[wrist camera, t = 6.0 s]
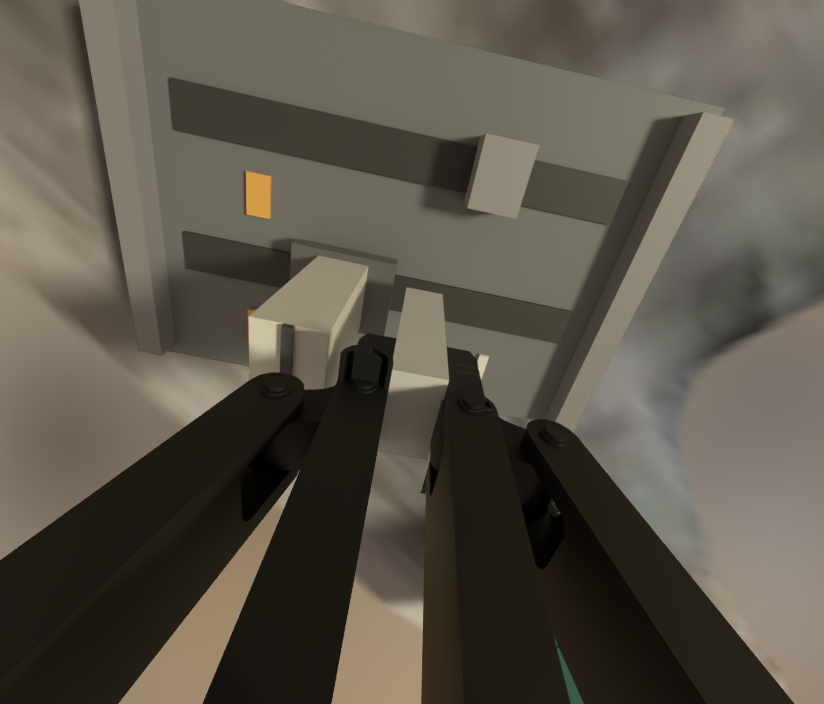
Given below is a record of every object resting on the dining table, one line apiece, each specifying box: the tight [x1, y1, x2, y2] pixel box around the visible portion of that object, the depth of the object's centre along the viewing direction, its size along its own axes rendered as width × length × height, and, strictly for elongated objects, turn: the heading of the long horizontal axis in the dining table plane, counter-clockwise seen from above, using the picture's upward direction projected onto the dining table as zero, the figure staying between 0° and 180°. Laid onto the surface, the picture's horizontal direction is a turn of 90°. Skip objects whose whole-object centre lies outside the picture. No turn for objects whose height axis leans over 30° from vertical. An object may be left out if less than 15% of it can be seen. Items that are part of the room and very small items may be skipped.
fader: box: [249, 239, 398, 390], centre depth 14 cm, size 4×5×8 cm
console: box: [79, 0, 735, 432], centre depth 17 cm, size 16×24×4 cm, turn 79°
